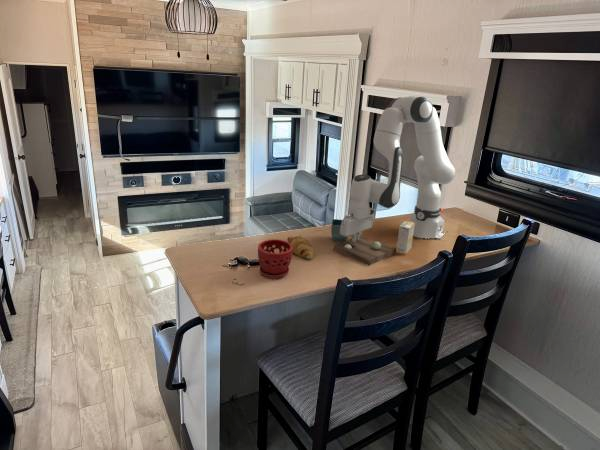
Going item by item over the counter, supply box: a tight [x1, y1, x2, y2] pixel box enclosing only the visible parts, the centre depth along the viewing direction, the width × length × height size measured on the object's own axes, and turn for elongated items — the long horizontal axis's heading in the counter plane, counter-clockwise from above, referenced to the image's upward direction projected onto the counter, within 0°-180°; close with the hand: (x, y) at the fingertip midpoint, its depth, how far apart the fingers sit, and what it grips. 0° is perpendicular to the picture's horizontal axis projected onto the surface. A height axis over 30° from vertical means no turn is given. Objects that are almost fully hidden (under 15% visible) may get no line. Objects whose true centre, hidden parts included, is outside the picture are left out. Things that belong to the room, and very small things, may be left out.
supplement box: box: [395, 220, 415, 256], centre depth 186 cm, size 8×5×13 cm, turn 149°
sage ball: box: [373, 241, 382, 249], centre depth 182 cm, size 3×3×3 cm
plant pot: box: [257, 238, 293, 279], centre depth 159 cm, size 13×13×12 cm
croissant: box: [286, 235, 314, 260], centre depth 182 cm, size 21×10×8 cm, turn 29°
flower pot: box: [330, 218, 349, 243], centre depth 196 cm, size 9×9×9 cm
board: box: [332, 236, 395, 267], centre depth 184 cm, size 18×20×2 cm
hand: (355, 240), depth 187 cm, fingers closed
